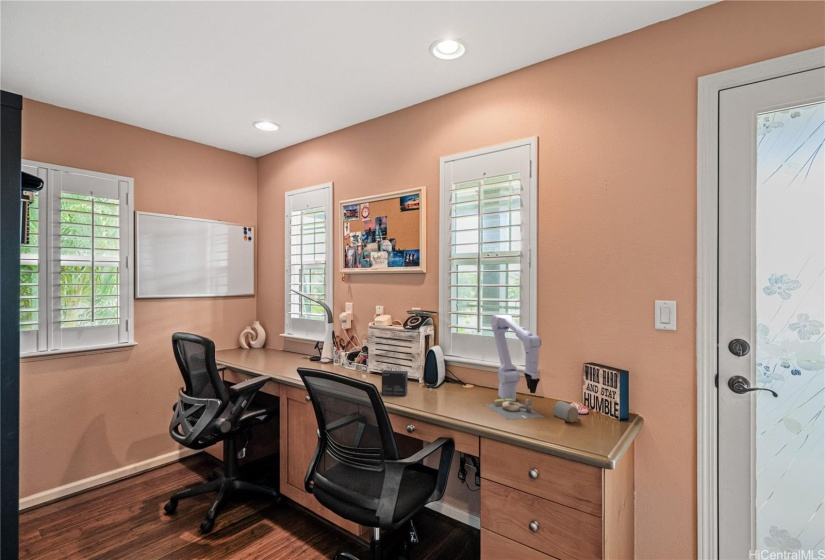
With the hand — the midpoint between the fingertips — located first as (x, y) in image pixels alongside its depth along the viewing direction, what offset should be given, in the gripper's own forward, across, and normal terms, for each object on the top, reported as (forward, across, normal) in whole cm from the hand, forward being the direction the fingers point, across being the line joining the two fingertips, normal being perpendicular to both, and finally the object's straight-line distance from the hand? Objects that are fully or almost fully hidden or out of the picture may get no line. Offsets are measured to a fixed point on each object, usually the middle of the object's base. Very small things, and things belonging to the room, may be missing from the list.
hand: (531, 390), depth 186 cm
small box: (+10, -18, -68) cm, 71 cm away
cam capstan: (+8, +3, -7) cm, 11 cm away
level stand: (+10, +3, -8) cm, 13 cm away
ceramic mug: (+10, +8, +14) cm, 19 cm away
